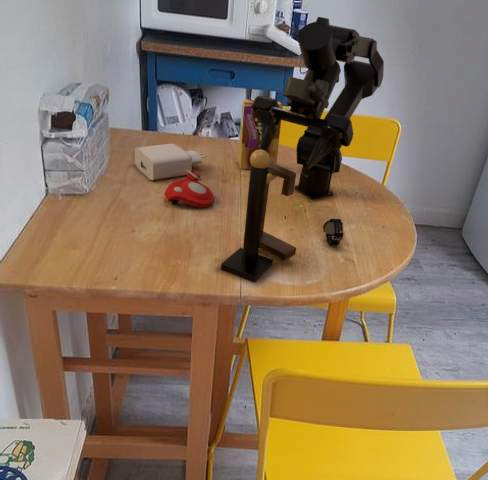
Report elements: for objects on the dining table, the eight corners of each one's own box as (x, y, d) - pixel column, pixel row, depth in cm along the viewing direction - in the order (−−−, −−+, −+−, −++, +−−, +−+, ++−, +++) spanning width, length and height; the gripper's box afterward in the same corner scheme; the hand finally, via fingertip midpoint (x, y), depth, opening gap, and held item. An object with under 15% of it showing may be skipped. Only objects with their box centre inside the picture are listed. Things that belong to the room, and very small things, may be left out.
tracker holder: (224, 200, 100) (179, 197, 94) (216, 218, 103) (172, 215, 97) (200, 165, 107) (157, 160, 101) (193, 182, 109) (151, 178, 103)
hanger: (255, 234, 90) (264, 157, 82) (295, 254, 86) (309, 175, 78) (243, 240, 88) (251, 161, 79) (284, 261, 84) (297, 181, 75)
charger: (214, 172, 115) (153, 182, 107) (194, 158, 121) (135, 166, 112) (215, 152, 112) (152, 161, 104) (194, 138, 118) (134, 146, 110)
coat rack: (250, 243, 90) (261, 134, 79) (282, 255, 88) (298, 144, 77) (220, 269, 82) (228, 152, 71) (254, 283, 80) (268, 163, 69)
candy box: (273, 163, 123) (280, 100, 115) (276, 170, 120) (284, 106, 111) (237, 162, 121) (242, 98, 113) (239, 169, 118) (244, 103, 109)
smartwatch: (343, 240, 95) (348, 216, 92) (339, 253, 91) (344, 229, 88) (321, 235, 96) (326, 212, 93) (317, 248, 91) (321, 224, 89)
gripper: (261, 47, 87) (224, 124, 85) (362, 69, 82) (326, 152, 79) (275, 86, 98) (243, 156, 95) (366, 108, 92) (334, 183, 90)
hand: (284, 161), depth 90 cm, fingers open, 9 cm apart
